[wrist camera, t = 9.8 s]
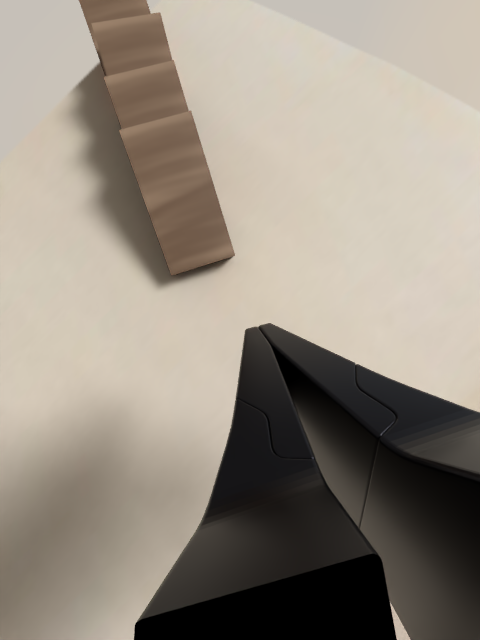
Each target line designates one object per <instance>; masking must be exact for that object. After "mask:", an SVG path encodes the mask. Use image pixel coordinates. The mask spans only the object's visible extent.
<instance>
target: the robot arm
mask: <svg viewBox="0 0 480 640" xmlns="http://www.w3.org/2000/svg"><path fill="white" fill-rule="evenodd" d="M389 600H390V601H389ZM390 602H391V604H392V606H393V607H394V609H395V611H396V613H397V615H398V617H399V619H400V620H401V622H402V624H403V626H404V628H405V630H406V632H407V633H408V635H409V637H410V639H411V640H480V412H477V411H474V410H471V409H468V408H465V407H463V406H460V405H457V404H455V403H452V402H449V401H447V400H444V399H441V398H439V397H436V396H433V395H431V394H428V393H425V392H423V391H420V390H418V389H415V388H412V387H410V386H407V385H405V384H402V383H400V382H397V381H395V380H392V379H390V378H387V377H385V376H383V375H380V374H378V373H376V372H374V371H371V370H369V369H367V368H365V367H363V366H361V365H358V364H357V365H356V364H355V363H354V362H352V361H350V360H348V359H345V358H343V357H341V356H339V355H337V354H335V353H333V352H331V351H328V350H326V349H324V348H322V347H320V346H318V345H316V344H314V343H311V342H309V341H307V340H305V339H303V338H301V337H299V336H297V335H294V334H292V333H290V332H288V331H286V330H284V329H282V328H280V327H277V326H275V325H273V324H271V323H268V324H264V325H260V326H259V327H252V328H248V329H246V330H245V336H244V343H243V350H242V357H241V365H240V372H239V379H238V386H237V394H236V401H235V407H234V413H233V419H232V424H231V429H230V432H229V436H228V440H227V444H226V447H225V451H224V454H223V457H222V461H221V464H220V467H219V471H218V474H217V477H216V480H215V484H214V487H213V490H212V494H211V497H210V500H209V503H208V506H207V508H206V511H205V513H204V516H203V518H202V520H201V523H200V524H199V526H198V528H197V530H196V532H195V533H194V535H193V536H192V538H191V539H190V541H189V543H188V544H187V546H186V547H185V549H184V550H183V552H182V553H181V555H180V556H179V558H178V559H177V561H176V563H175V564H174V566H173V567H172V569H171V570H170V572H169V573H168V575H167V576H166V578H165V579H164V581H163V583H162V584H161V586H160V587H159V589H158V590H157V592H156V593H155V595H154V596H153V598H152V600H151V601H150V603H149V604H148V606H147V607H146V609H145V610H144V612H143V613H142V615H141V616H140V618H139V620H138V621H137V623H136V624H135V635H134V640H397V639H396V634H395V628H394V623H393V617H392V612H391V606H390Z"/></svg>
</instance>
